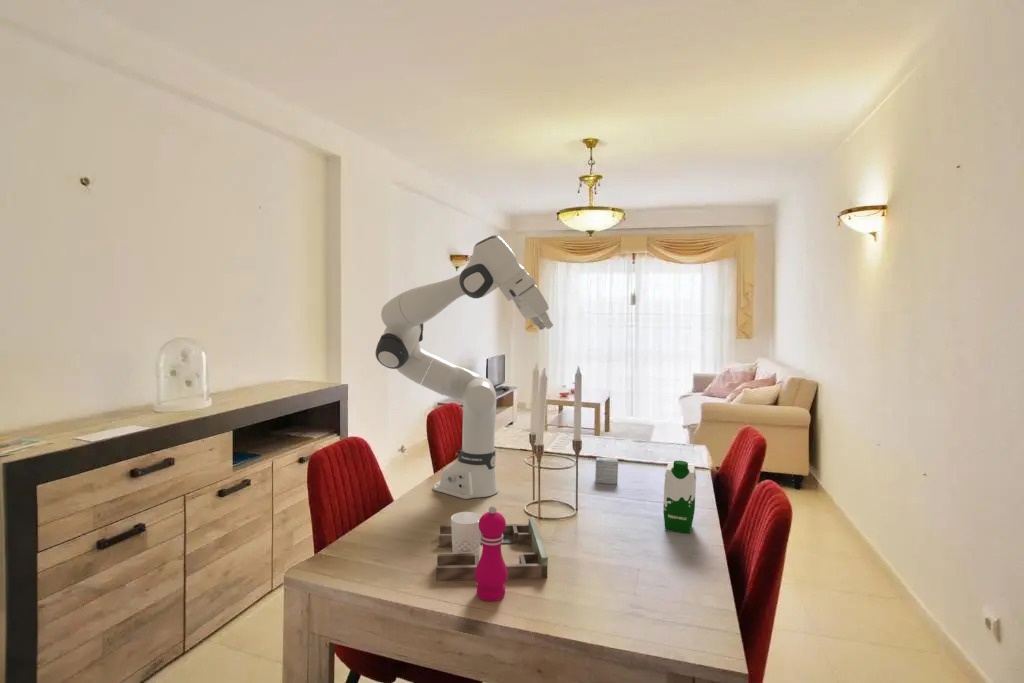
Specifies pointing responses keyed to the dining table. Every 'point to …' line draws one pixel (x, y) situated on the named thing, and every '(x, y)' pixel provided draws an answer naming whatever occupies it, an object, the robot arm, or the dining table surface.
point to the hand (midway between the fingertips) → (546, 328)
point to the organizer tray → (513, 534)
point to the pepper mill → (491, 557)
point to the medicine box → (606, 470)
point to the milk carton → (679, 496)
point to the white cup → (465, 533)
